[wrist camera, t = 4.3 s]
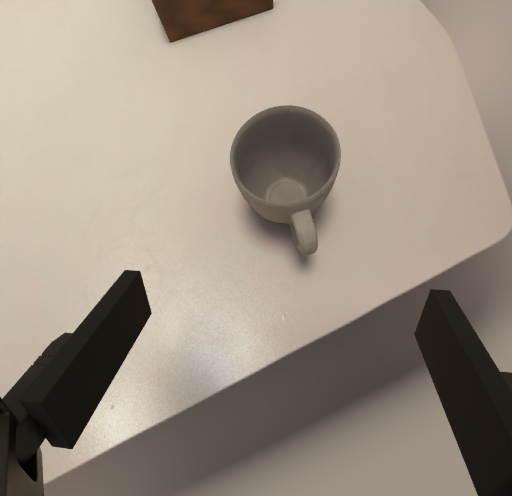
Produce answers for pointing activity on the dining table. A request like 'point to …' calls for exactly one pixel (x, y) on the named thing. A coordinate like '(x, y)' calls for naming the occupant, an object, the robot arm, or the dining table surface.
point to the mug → (287, 167)
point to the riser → (203, 14)
